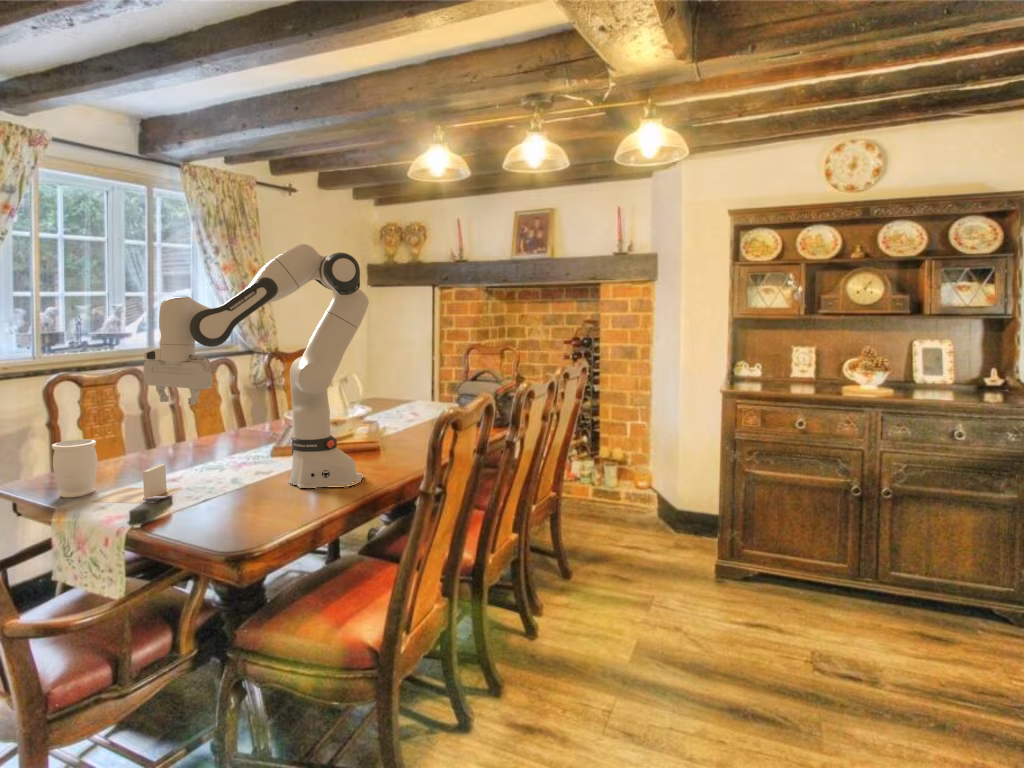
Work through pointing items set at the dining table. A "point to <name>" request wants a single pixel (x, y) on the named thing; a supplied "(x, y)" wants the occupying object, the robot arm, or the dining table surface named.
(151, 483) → the beige flat block
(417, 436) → the dining table surface
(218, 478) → the dining table surface
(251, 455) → the dining table surface
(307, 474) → the robot arm
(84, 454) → the jar
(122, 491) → the cork mat
